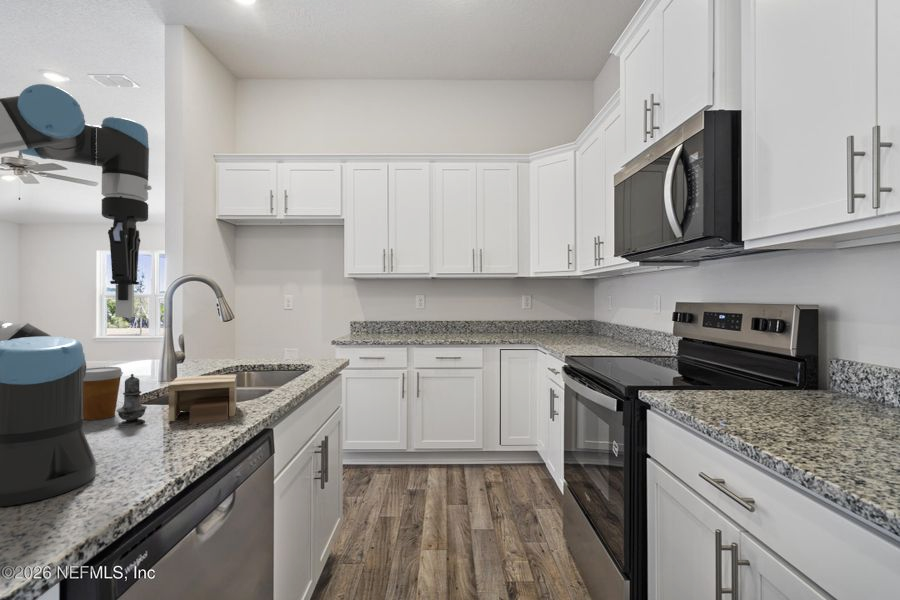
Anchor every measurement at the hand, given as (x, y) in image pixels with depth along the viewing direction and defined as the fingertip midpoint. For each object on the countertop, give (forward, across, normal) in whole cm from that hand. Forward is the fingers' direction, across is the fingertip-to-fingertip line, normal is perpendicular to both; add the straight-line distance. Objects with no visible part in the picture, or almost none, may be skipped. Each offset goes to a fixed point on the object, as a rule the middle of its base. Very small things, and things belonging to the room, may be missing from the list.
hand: (124, 316), depth 88 cm
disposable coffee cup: (+27, +30, +12) cm, 42 cm away
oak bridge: (+26, +23, -12) cm, 37 cm away
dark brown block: (+27, +20, -14) cm, 36 cm away
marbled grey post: (+27, +20, +3) cm, 33 cm away
